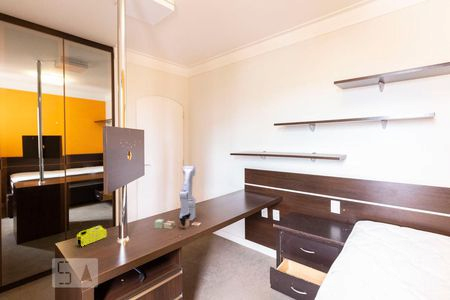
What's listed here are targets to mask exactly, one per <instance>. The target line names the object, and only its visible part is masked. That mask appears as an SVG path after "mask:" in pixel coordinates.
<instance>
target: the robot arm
mask: <svg viewBox="0 0 450 300" xmlns="http://www.w3.org/2000/svg"><path fill="white" fill-rule="evenodd" d="M182 174H183V177H184V181H183V182H182V184H181V190H180V192H179V201H180V212H179V216H178V219H179V221H181V222H180V225H181V224H182V226H185V221H186V219H189V221H193V220H194V219H195V218H197V215H196V198H195V197H194V196H193V178H194V177H195V176H196V166H195V165H183V166H182Z"/></svg>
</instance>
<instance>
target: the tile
mask: <svg viewBox="0 0 450 300" xmlns="http://www.w3.org/2000/svg"><path fill="white" fill-rule="evenodd" d="M200 225H201V222H197V221H194V222H193V223H191V226H197V227H198V226H200Z"/></svg>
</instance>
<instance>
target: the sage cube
mask: <svg viewBox="0 0 450 300" xmlns="http://www.w3.org/2000/svg"><path fill="white" fill-rule="evenodd" d="M164 221H165V220H164V219H162V218H161V219H160V218H159V219H158V218H157V219H156V220H155V221H154V229H162V228H164V223H165V222H164Z"/></svg>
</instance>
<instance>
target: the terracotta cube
mask: <svg viewBox="0 0 450 300" xmlns="http://www.w3.org/2000/svg"><path fill="white" fill-rule="evenodd" d="M179 221H180V220H179ZM189 227H190V220H189V219H186V221H185V226H182V224H181V221H180V228H185V229H188V228H189Z"/></svg>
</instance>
